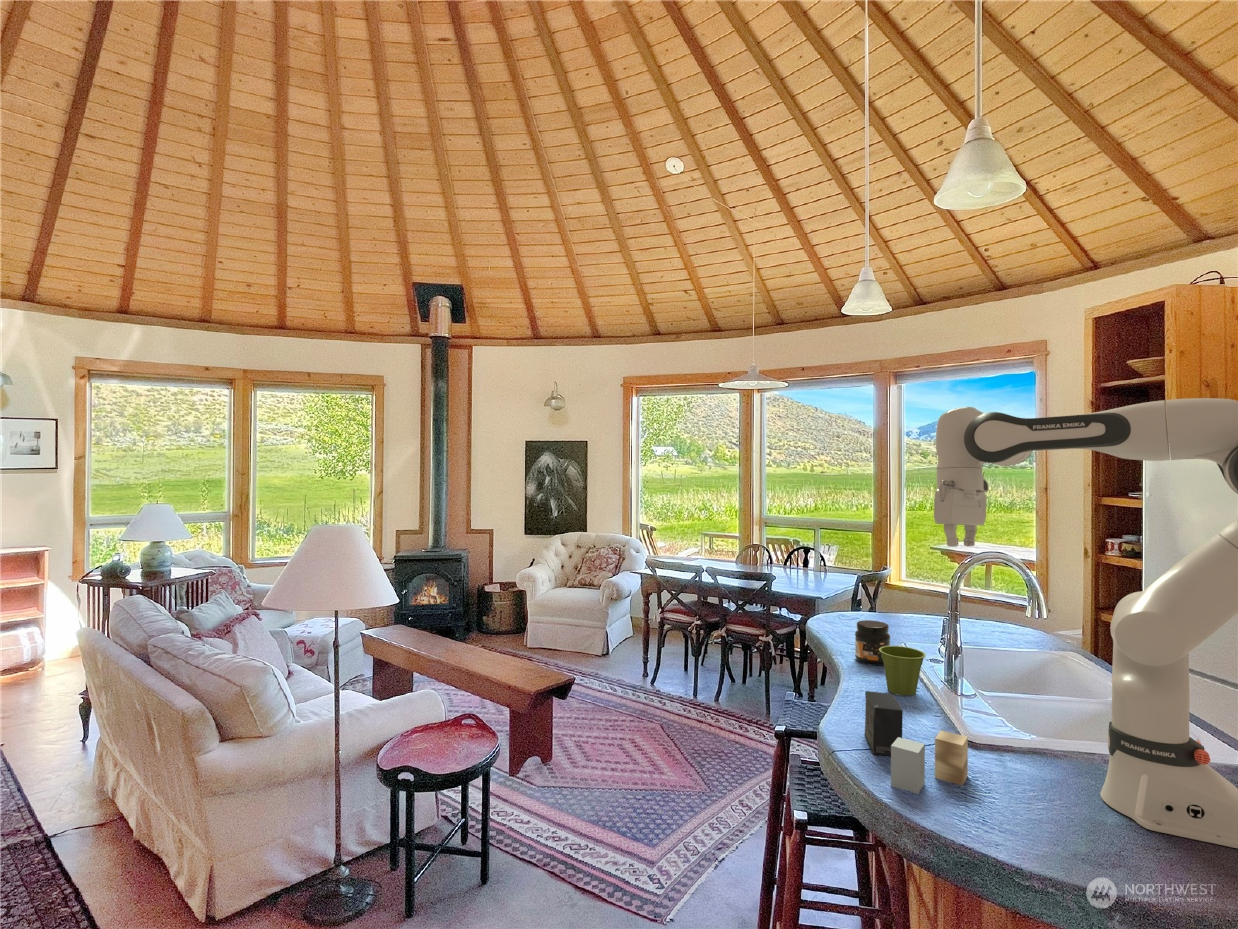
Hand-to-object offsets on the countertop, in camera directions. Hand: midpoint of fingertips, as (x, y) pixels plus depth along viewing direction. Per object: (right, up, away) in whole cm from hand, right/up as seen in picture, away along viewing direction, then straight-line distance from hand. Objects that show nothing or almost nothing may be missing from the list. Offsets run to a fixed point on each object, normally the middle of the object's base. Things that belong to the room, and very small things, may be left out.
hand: (961, 546), depth 137 cm
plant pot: (+5, -46, +39) cm, 60 cm away
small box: (-14, -46, +6) cm, 48 cm away
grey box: (-17, -46, -12) cm, 50 cm away
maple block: (-6, -46, -8) cm, 47 cm away
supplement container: (+7, -46, +66) cm, 81 cm away
